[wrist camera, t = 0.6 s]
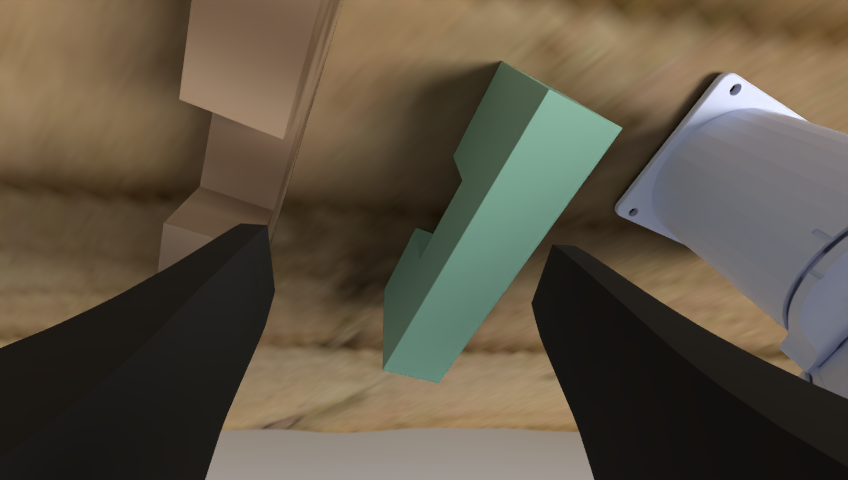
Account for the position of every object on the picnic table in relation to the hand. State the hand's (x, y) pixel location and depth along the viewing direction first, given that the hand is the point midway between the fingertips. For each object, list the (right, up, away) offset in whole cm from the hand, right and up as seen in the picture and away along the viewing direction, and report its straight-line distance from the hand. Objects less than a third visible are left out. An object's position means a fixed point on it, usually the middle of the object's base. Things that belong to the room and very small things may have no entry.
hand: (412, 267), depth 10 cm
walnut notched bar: (-7, +6, +8) cm, 12 cm away
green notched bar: (+2, +3, +11) cm, 11 cm away
